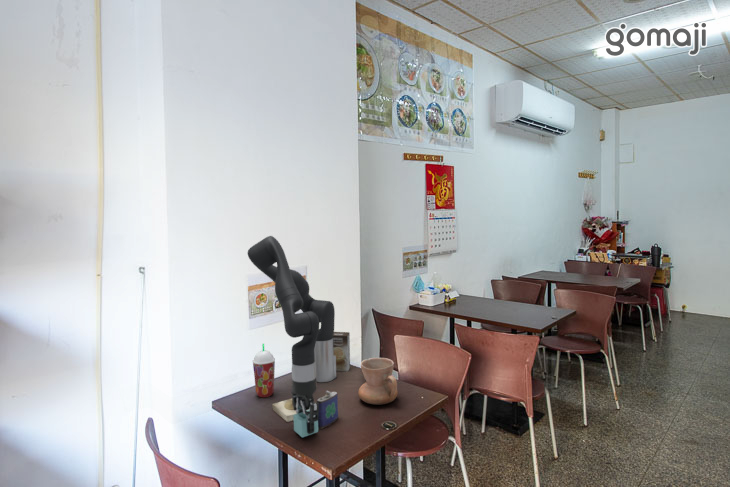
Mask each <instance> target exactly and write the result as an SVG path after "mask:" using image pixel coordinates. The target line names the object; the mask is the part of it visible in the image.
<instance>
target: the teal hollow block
mask: <svg viewBox="0 0 730 487" xmlns="http://www.w3.org/2000/svg"><path fill="white" fill-rule="evenodd" d="M307 411H310V410H307ZM309 416H310V414H309ZM293 417H294V420H293V431H294V432H295V433H296V434H298V435H299V437H301V438H305V437H308V436H311V435H313V434H316V433H319V428H318V421H315V422H314V432H313V433H311V434H308V433H307V420H306V416H305V415H304V413H303V412H301V413H298V414H295V415H293Z"/></svg>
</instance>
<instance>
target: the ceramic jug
mask: <svg viewBox="0 0 730 487" xmlns="http://www.w3.org/2000/svg"><path fill="white" fill-rule="evenodd" d="M394 364H395V362H394V361H393V360H392V359H390V358H386V357H369V358H368V359H367V358H366V359H363V360H362V361H361V362H360V369H361V371H362V374H363V378H364V379H365V381H366V382H364V383H363V384H362V385H361V386H360V387H359V389H358V393H357V394H358V397H359V399H361V401H363V402H364V403H366V404H370V405H375V406H376V405H377V406H378V405H379V406H380V405H385V404H387V405H388V404H390V403H392V402H393V401H395V399H396V398H397V397H398V393H399V392H398V381H397V379H396V377H395V376H394V375H392V374H393V371H394Z"/></svg>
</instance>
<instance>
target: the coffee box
mask: <svg viewBox="0 0 730 487" xmlns="http://www.w3.org/2000/svg"><path fill="white" fill-rule="evenodd" d="M350 336H351V335H350V332H349V331H348V332H345V331H334V333H333V347H334V355H335V356H336V372H349V370H350V367H351V349H350V348H351V345H350V342H351V341H350Z"/></svg>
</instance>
